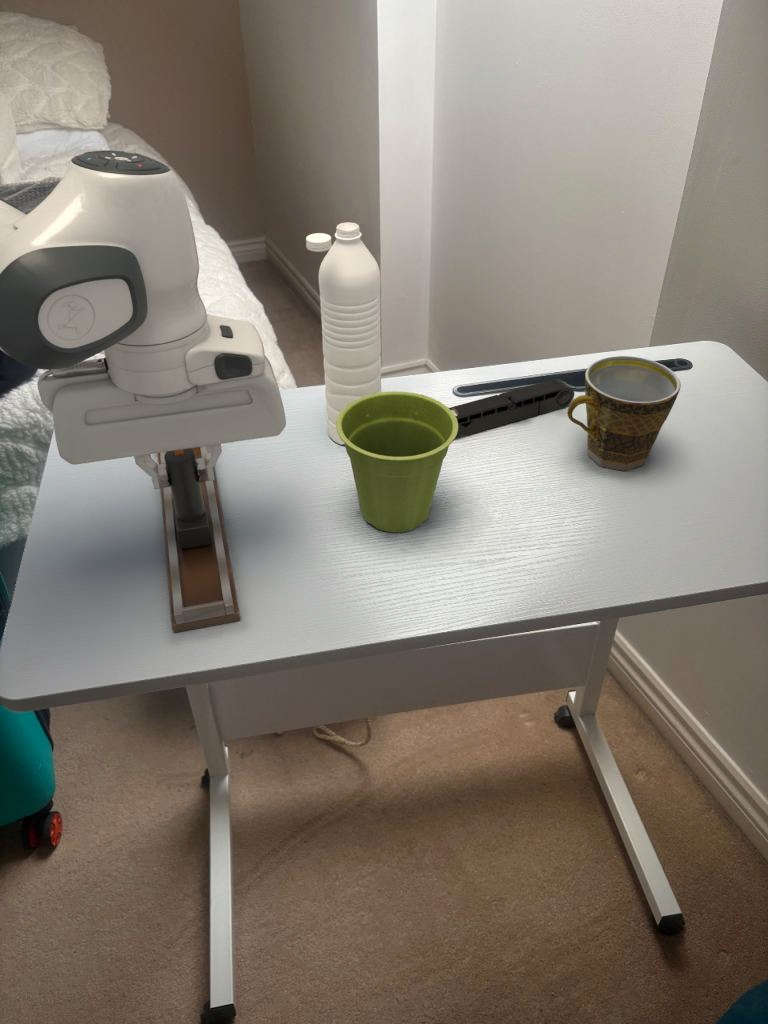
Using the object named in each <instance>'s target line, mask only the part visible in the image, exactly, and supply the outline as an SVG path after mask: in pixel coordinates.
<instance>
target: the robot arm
mask: <svg viewBox="0 0 768 1024" xmlns="http://www.w3.org/2000/svg"><path fill="white" fill-rule="evenodd" d="M193 226H194V225H193V222H192V219H191V214H190V210H189V205H188V202H187V199H186V196H185V192H184V190H183V187H182V184H181V183H180V180H179V178H178V176H177V175H176V172H174V171H173V170H172V169H171V168H170V167H169V166H167V165H166V164H164V163H162V162H161V161H159V160H156V159H154V158H151V157H149V156H146V155H143V154H140V153H136V152H127V151H124V150H107V149H106V150H104V149H103V150H102V149H101V150H92V151H86V152H83V153H81V154H78V155H75V156H73V157H72V158H71V159H70V161H69V162H68V166H67V169H66V171H65V173H64V175H63V177H62V178H61V180H60V181H59V182H58V183H57V185H56V186H55V187H54V189H53V190H52V191H51V192H50V193H49V194H48V195H47V197H45V198H44V199H43V200H42V201H41V202H40V204H38V205H37V206H36V207H35V208H33V210H31V211H30V212H29V213H25V212H24V211H23V210H22V209H20V208H18V207H17V206H16V205H14V204H12V203H11V202H9V201H8V200H6V199H5V198H3V197H1V196H0V351H1V352H3V353H4V354H6V355H7V356H8V357H10V358H11V359H13V360H14V361H16V362H18V363H19V364H22V365H23V366H27V367H29V368H32V369H37V370H44V372H42V374H41V375H40V376H39V378H38V379H37V383H36V385H37V390H38V393H39V396H40V400H41V403H42V404H43V406H44V407H45V408H46V409H47V410H48V411H50V412H51V413H52V419H53V430H54V431H53V432H54V436H55V443H56V447H57V450H58V454H59V457H60V458H61V459H62V460H64V461H65V462H67V463H69V464H70V465H72V466H73V465H74V466H75V465H82V464H83V465H84V464H89V463H96V462H97V463H98V462H104V461H111V460H118V459H124V458H131V457H133V459H134V463H135V465H137V466H138V467H139V468H140V469H141V470H142V471H143V472H144V473H146V474H147V476H149V477H151V480H152V485H153V489H154V490H159V489H161V488H166V487H170V482H169V478H168V473H167V469H166V464H165V463H164V464H159V463H157V461H155V459H153V458H152V456H151V455H152V454H158V453H160V452H167V451H174V450H181V449H188V448H195V447H202V446H206V450H207V452H206V454H205V456H204V458H198V459H196V464H197V472H198V477H199V482H205V481H213V480H215V479H214V473H213V467H214V468H215V465H216V464H217V462H218V460H219V458H220V456H221V454H222V452H223V449H222V444H230V443H236V442H244V441H250V440H258V439H265V438H272V437H277V436H279V435H281V434H282V433H283V431H284V429H285V428H286V427H287V418H286V412H285V407H284V403H283V399H282V395H281V392H280V388H279V384H278V381H277V378H276V375H275V372H274V369H273V367H272V364H271V361H270V360H269V358H268V357H267V356H266V353H265V347H264V343H263V340H262V337H261V335H260V333H259V331H258V329H257V328H256V326H255V324H253V322H250V321H246V320H241V319H235V318H230V317H223V316H218V315H213V314H209V313H207V309H206V307H205V304H204V301H203V300H202V298H201V295H200V293H199V286H198V280H199V273H200V261H199V254H198V249H197V248H198V247H197V243H196V237H195V232H194V227H193ZM102 352H103V353H104V357H102V358H94V359H90V358H92V357H95V356H97V355H98V354H100V353H102Z"/></svg>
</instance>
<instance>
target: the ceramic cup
mask: <svg viewBox="0 0 768 1024" xmlns="http://www.w3.org/2000/svg"><path fill="white" fill-rule="evenodd" d="M681 385H682V384H681V380H680V378H679V377H678V375H677V374H676V373H675V372H674V371H673V370H672V369H670V368H669V367H667V366H666V365H664V364H662V363H659V362H657V361H655V360H651V359H648V358H644V357H640V356H639V357H638V356H632V355H631V356H630V355H615V356H609V357H604V358H601V359H598V360H596V361H594V362H592V363H591V364H589V365H588V367H587V368H586V370H585V374H584V394H581V395H579V396H576V397H574V398H573V400H572V402H571V403H570V404H569V405H568V408H567V413H566V414H567V417H568V419H569V420H570V421H571V422H572V423H573V424H574V425H575V424H576V425H577V426H579V427H581V429H583V430H584V431H585V432H586V433H587V449H586V450H587V451H586V453H587V456H588V457H589V458H590V459H591V460H592V461H593V462H595V463H596V464H597V466H599V467H601V468H605V469H612V470H617V471H621V472H626V471H629V470H633V469H635V468H638V467H642V466H643V465H644V464H645V463H646V460H647V459H648V457H649V455H650V453H651V451H652V448H653V446H654V444H655V442H656V440H657V437H658V436H659V433H660V431H661V430H662V427H663V425H664V424H665V422H666V421H667V419H668V417H669V415H670V413H671V411H672V409H673V407H674V405H675V403H676V400H677V398H678V396H679V393H680V391H681V387H682V386H681ZM584 404H585V411H586V425H585V423H583V422H582V421H580V420H578V419H576V418H574V417H573V413H574V411H575V409H576V408H577V407H578V406H581V405H584Z"/></svg>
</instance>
